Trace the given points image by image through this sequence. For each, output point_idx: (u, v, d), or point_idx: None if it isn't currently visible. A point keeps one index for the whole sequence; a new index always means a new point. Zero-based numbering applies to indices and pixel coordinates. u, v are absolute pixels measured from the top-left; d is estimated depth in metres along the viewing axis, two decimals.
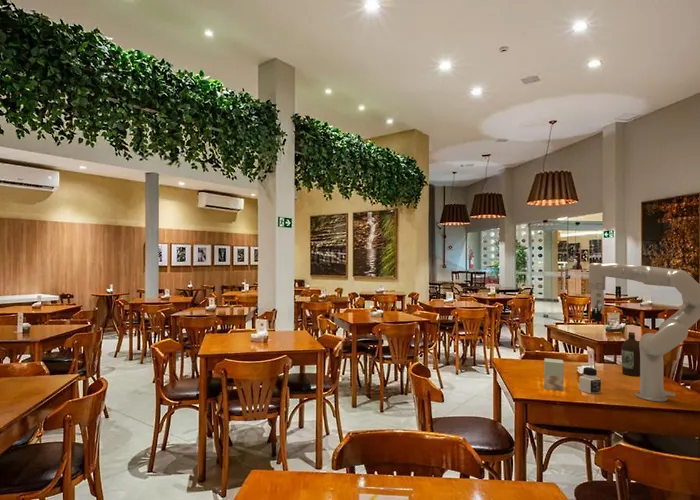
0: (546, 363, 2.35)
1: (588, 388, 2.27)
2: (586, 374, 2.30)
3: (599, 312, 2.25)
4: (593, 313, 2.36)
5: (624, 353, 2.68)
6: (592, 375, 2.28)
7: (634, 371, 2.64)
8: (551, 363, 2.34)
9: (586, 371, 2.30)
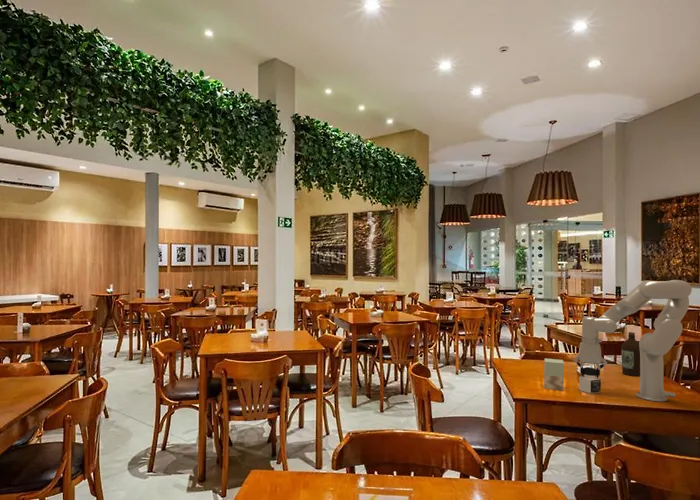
0: (546, 363, 2.35)
1: (588, 388, 2.27)
2: (586, 374, 2.30)
3: None
4: (583, 370, 2.32)
5: (624, 353, 2.68)
6: (592, 375, 2.28)
7: (634, 371, 2.64)
8: (551, 363, 2.34)
9: (586, 371, 2.30)
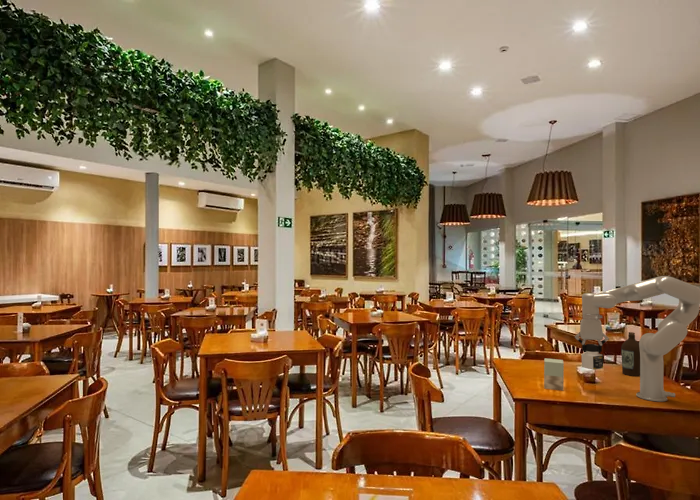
0: (546, 363, 2.35)
1: (591, 365, 2.27)
2: (588, 351, 2.30)
3: None
4: None
5: (624, 353, 2.68)
6: (594, 351, 2.28)
7: (634, 371, 2.64)
8: (551, 363, 2.34)
9: (588, 348, 2.30)
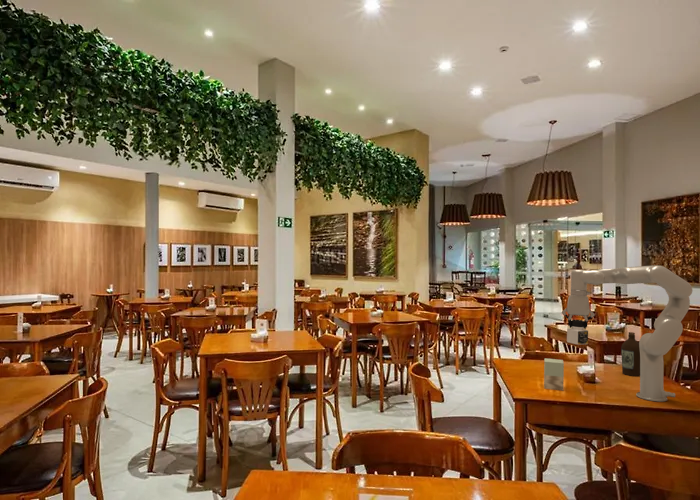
0: (546, 363, 2.35)
1: (576, 339, 2.30)
2: (574, 326, 2.32)
3: (588, 320, 2.32)
4: None
5: (624, 353, 2.68)
6: (580, 326, 2.31)
7: (634, 371, 2.64)
8: (551, 363, 2.34)
9: (574, 323, 2.32)
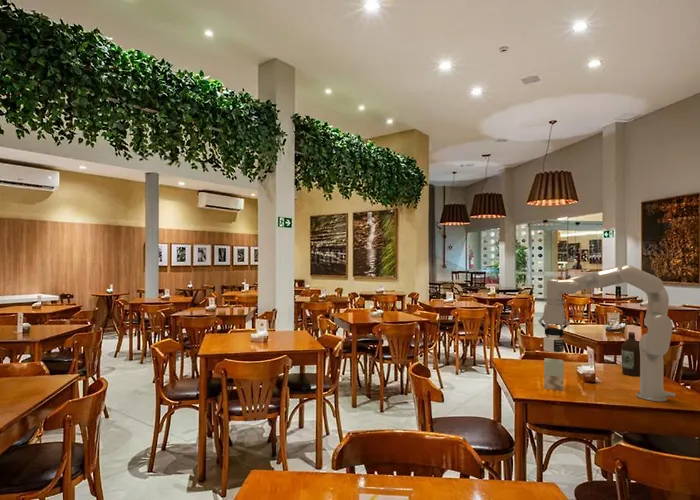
0: (546, 363, 2.35)
1: (552, 348, 2.34)
2: (550, 334, 2.37)
3: (564, 328, 2.36)
4: (547, 330, 2.39)
5: (624, 353, 2.68)
6: (555, 335, 2.35)
7: (634, 371, 2.64)
8: (551, 363, 2.34)
9: (550, 331, 2.37)
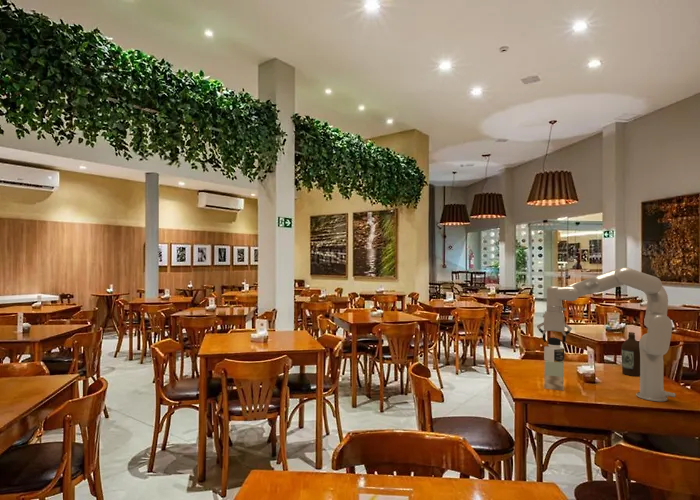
0: (546, 363, 2.35)
1: (552, 357, 2.34)
2: (550, 344, 2.36)
3: (566, 334, 2.36)
4: (545, 336, 2.39)
5: (624, 353, 2.68)
6: (556, 345, 2.35)
7: (634, 371, 2.64)
8: (551, 363, 2.34)
9: (550, 341, 2.36)
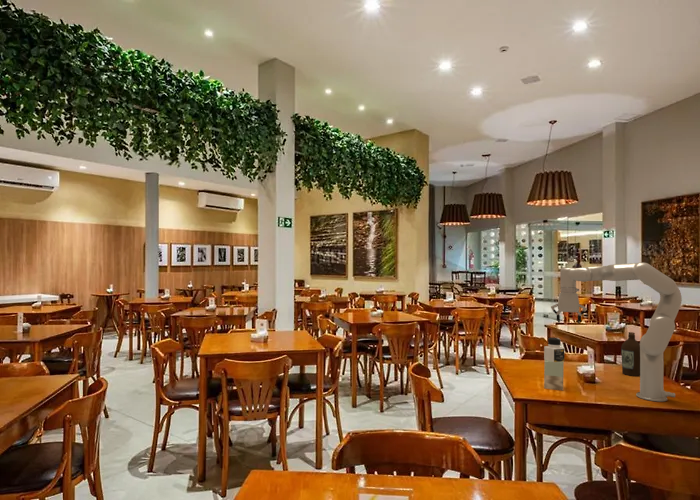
0: (546, 363, 2.35)
1: (552, 357, 2.34)
2: (550, 344, 2.36)
3: (582, 314, 2.39)
4: (559, 317, 2.42)
5: (624, 353, 2.68)
6: (556, 344, 2.35)
7: (634, 371, 2.64)
8: (551, 363, 2.34)
9: (550, 341, 2.36)
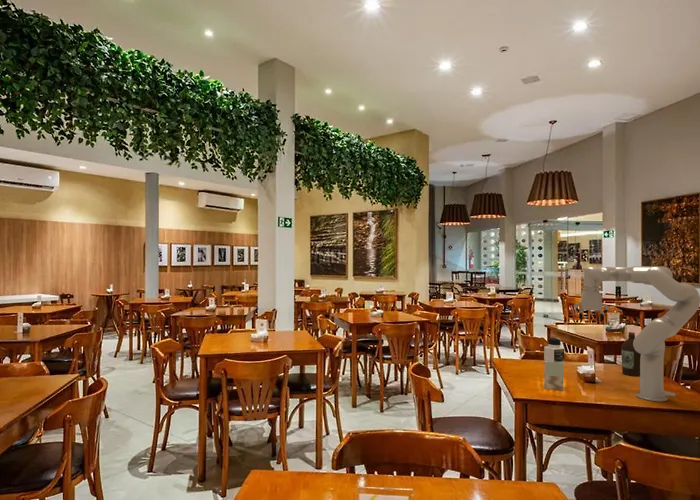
0: (546, 363, 2.35)
1: (552, 357, 2.34)
2: (550, 344, 2.36)
3: (604, 313, 2.44)
4: None
5: (624, 353, 2.68)
6: (556, 345, 2.35)
7: (634, 371, 2.64)
8: (551, 363, 2.34)
9: (550, 341, 2.36)
